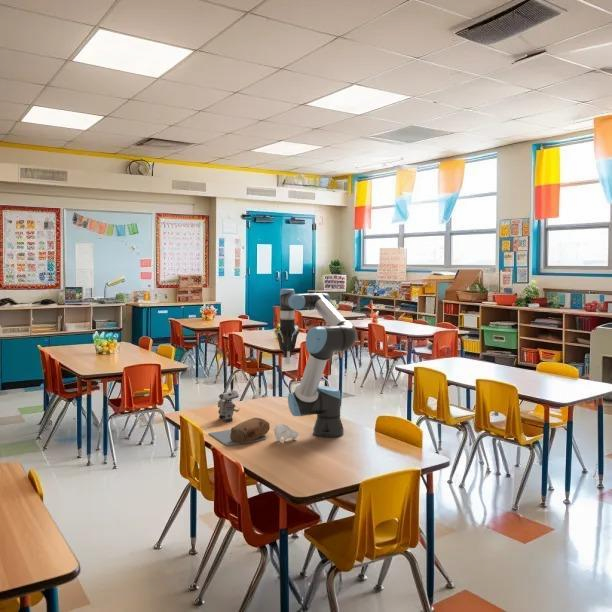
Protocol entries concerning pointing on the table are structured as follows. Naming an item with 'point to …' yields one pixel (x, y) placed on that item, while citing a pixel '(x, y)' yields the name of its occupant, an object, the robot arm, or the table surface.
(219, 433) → the mat
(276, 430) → the white lumpy piece
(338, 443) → the table surface
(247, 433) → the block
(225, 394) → the figurine
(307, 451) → the table surface
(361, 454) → the table surface
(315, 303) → the robot arm
